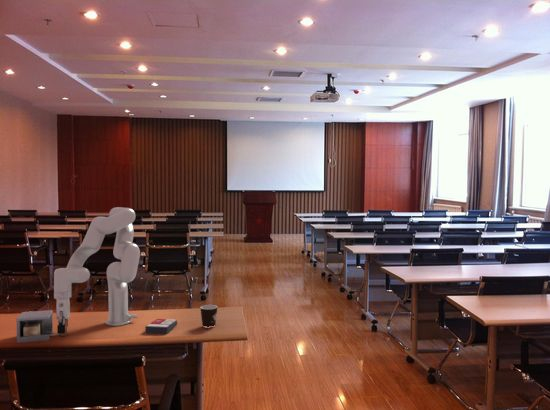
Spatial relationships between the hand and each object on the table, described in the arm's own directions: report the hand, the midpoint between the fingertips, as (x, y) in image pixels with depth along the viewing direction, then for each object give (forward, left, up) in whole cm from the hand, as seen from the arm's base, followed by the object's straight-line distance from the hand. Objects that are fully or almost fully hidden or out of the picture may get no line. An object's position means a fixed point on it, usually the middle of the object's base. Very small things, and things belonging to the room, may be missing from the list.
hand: (62, 330), depth 222 cm
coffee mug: (-70, +5, -3) cm, 71 cm away
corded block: (+7, 0, -2) cm, 8 cm away
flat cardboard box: (-46, +4, -3) cm, 46 cm away
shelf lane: (+11, 0, -3) cm, 11 cm away
